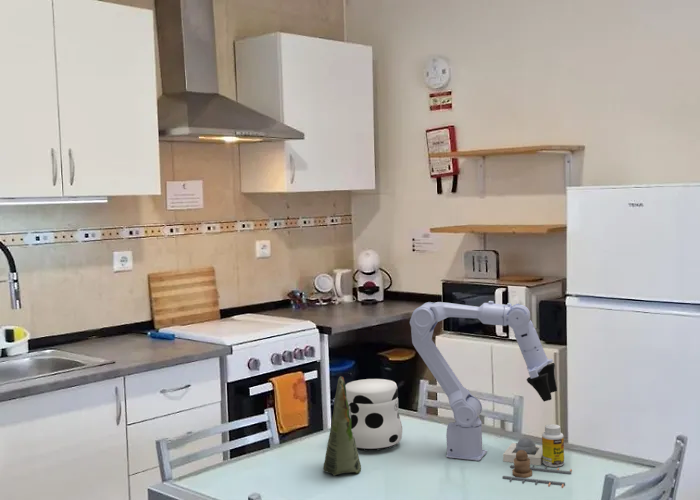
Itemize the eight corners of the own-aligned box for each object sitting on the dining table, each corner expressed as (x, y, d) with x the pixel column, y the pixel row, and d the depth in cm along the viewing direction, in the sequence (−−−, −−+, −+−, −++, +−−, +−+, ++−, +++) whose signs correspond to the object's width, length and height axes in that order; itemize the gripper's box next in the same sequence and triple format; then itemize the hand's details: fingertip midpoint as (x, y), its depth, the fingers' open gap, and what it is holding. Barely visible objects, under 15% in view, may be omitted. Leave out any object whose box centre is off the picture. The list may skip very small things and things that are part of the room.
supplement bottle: (554, 469, 210) (553, 430, 209) (538, 463, 215) (537, 426, 214) (568, 464, 213) (567, 426, 212) (552, 459, 218) (551, 421, 217)
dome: (514, 456, 219) (513, 439, 219) (518, 450, 224) (518, 434, 223) (533, 458, 217) (532, 441, 216) (537, 452, 221) (537, 435, 221)
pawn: (510, 476, 206) (509, 452, 206) (514, 470, 211) (514, 446, 210) (529, 479, 204) (529, 454, 204) (534, 472, 209) (533, 448, 208)
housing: (503, 461, 218) (503, 454, 218) (512, 449, 227) (512, 442, 227) (540, 465, 214) (540, 457, 213) (548, 453, 223) (548, 446, 222)
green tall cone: (343, 460, 224) (339, 371, 222) (374, 470, 216) (370, 377, 214) (313, 472, 216) (308, 379, 214) (344, 482, 208) (340, 386, 206)
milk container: (413, 441, 239) (411, 380, 237) (384, 458, 224) (381, 395, 223) (363, 433, 248) (360, 375, 247) (332, 450, 234) (329, 389, 232)
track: (500, 480, 204) (500, 478, 204) (512, 464, 215) (512, 462, 215) (563, 488, 197) (563, 486, 197) (572, 471, 208) (572, 469, 208)
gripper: (539, 350, 208) (559, 400, 207) (550, 337, 221) (569, 384, 220) (514, 358, 211) (534, 407, 210) (526, 345, 224) (545, 391, 223)
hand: (550, 396), depth 215 cm, fingers open, 7 cm apart
